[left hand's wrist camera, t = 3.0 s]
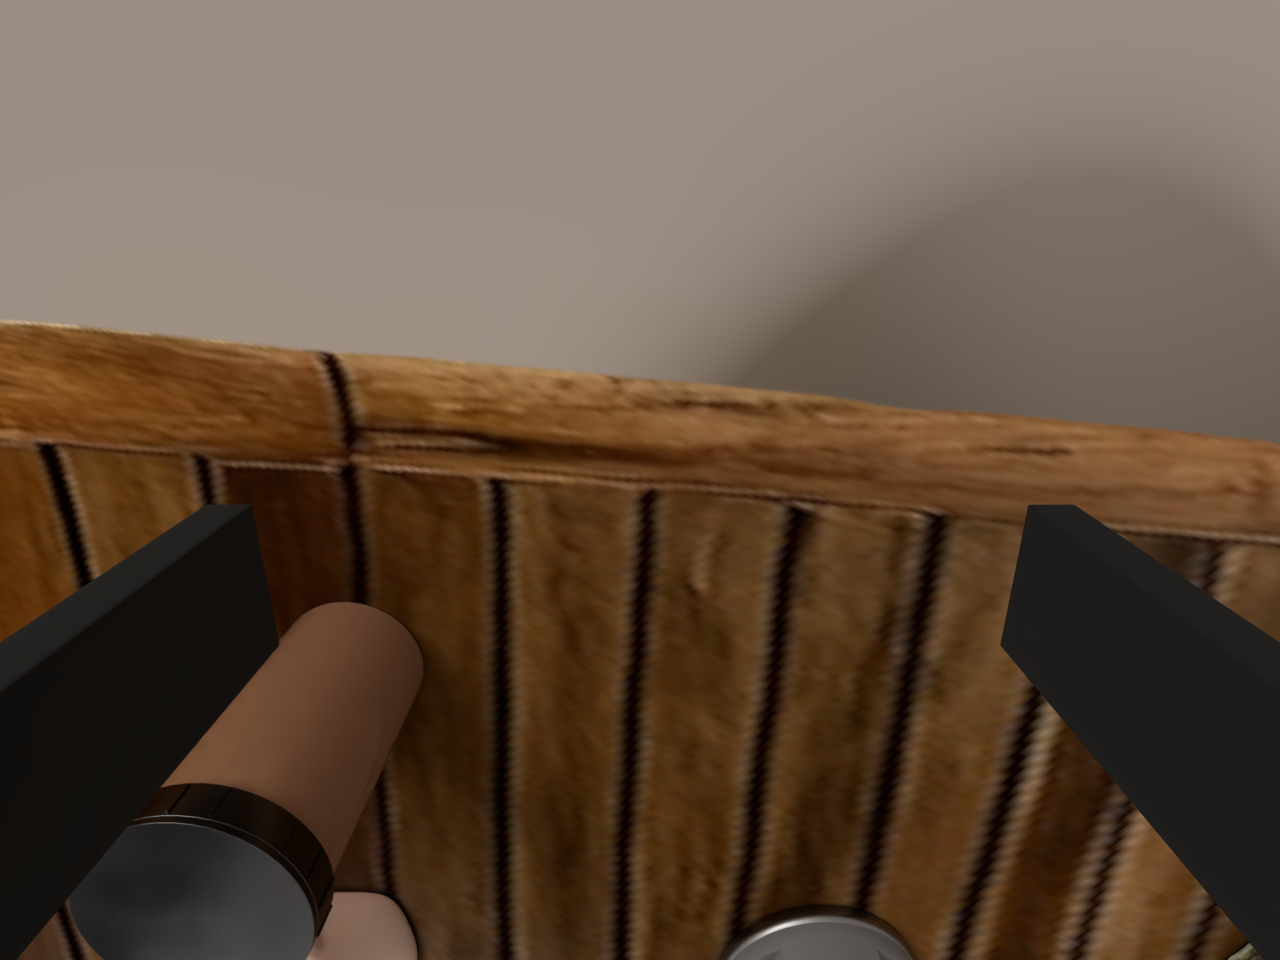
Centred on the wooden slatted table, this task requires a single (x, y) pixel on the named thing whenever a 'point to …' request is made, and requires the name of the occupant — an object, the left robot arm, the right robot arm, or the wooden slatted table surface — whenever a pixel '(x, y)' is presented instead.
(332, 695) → the jar
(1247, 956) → the fossil
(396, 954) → the anatomical model
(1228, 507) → the wooden slatted table surface
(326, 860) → the lid
